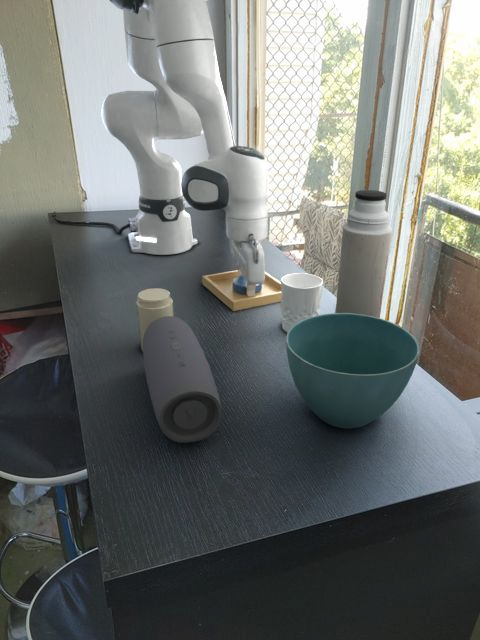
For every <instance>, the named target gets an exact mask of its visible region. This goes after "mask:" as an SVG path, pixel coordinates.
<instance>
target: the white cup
mask: <svg viewBox="0 0 480 640" xmlns="http://www.w3.org/2000/svg"><path fill="white" fill-rule="evenodd" d="M280 282H281V302H280V305H281V307H280V308H281V310H280V311H281V328H282V329H283V331H284V332H286V333H288V331H289V330H290V328H291V327H292V326H294V325H295V324H296V323H298V322H300V321H302V320H304V319H307V318H310V317H313V316H318V315H320V309H321V301H322V293H323V287H324V280H323V278H321V277H320V276H319V275H316V274H313V273H306V272H294V273H288V274H286V275H284V276H282V277H281V279H280Z"/></svg>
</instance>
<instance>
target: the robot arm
mask: <svg viewBox="0 0 480 640" xmlns="http://www.w3.org/2000/svg"><path fill="white" fill-rule="evenodd" d="M208 1H209V0H109V2H110V3H111V4H112V5H114V6H115V7H116V8H117V9H120V10H122V13H123V29H124V38H125V49H126V59H127V63H128V67H129V69H130V70H131V71H132V72H133V74H134V75H136V76H137V77H138V78H139V79H141V80H143V81H145V82H147V83H149V84H150V85H152V86H153V87H154V88H155V89H156V90H123V91H118V92H114V93H109V94H107V95H106V97H105V98H104V100H103V102H102V105H101V109H100V116H101V120H102V123H103V125H104V128H105V129H106V131H107V132H108V133H109V134H110V135H111V136H112V137H113V138H115V139H116V140H117V141H119V143H120V144H122V145H123V146H124V147H125V149H126V150H127V151H128V152H129V154H130V156H131V157H132V160H133V162H134V164H135V169H136V172H137V178H138V184H139V185H138V186H139V196H138V209H139V210H138V211H137V214H136V215H135V217H128V218H127V220H128V223H127V224H126V225H123V226H122V227H120V229H119V228H118V226H117V225H116V224H114V223H111V222H103V221H88V222H89V223H86V222H87V221H82V222H71V221H72V220H67V221H62V220H63V219H61V220H58V219H59V218H58V219H55V218H54V220H55V221H56V222H57V223H62V224H69V225H85V226H107V227H111V228H113V229H114V230H115V233H116V234H118V235H121V234H122V233H123V232H124V231H125V230H126V229H129V231H130V232H129V233H128V234H127V239H128V244H129V247H130V251H131V252H132V253H143V254H148V255H156V256H157V255H158V256H168V255H176V254H182V253H184V252H187V251H189V250H191V249H192V247H193V246H196V245H198V242H199V241H198V239H197V238H195V237H193V228H192V219H191V215H190V213H188V212H187V211H186V210H185V209H186V203H187V204H188V205H189V206H190V207H191V208H193V209H194V210H197V211H201V212H204V211H205V212H206V211H215V210H216V211H217V210H224V211H225V236H226V238H228V241H229V250H230V255H231V258H232V259H233V260H234V262H235V264H236V267H237V270H238V273H239V277H241V276H244V278H245V280H246V282H247V287H246V294H247V296H248V297H253V296H255V288H256V285H257V284H263V283H264V280H265V272H266V266H265V263H266V261H265V251H264V248H263V246H262V241H264V240H265V239H267V238H268V227H269V225H268V224H269V223H268V222H269V220H268V218H269V212H268V208H267V200H268V196H269V168H268V162H267V158H266V156H265V155H264V153H263V152H261V151H260V150H259V149H256V148H253V147H250V146H242V145H236V141H235V137H234V136H235V135H234V131H233V125H232V121H231V117H230V112H229V107H228V103H227V102H228V101H227V98H226V94H225V91H224V86H223V83H222V79H221V75H220V70H219V64H218V63H219V62H218V57H217V51H216V44H215V37H214V31H213V25H212V20H211V16H210V12H209V7H208V4H207V2H208ZM202 134H203V137H204V143H205V146H206V150H207V159H206V160H204V161H200V162H197V163H195V164H193V165H192V166H190V167H189V168H187V169H186V170H185V172H184V173H183V175H182V166H181V164H180V162H179V161H178V160H177V159H175V158H174V156H171V155H170V154H167V153H165V152H164V151H161V150H159V149H158V148H157V146H156V145H155V141H158V140H187V139H193V138H196V137H200V136H202ZM53 214H54V215H57V212H56V211H53V212H52V215H51V217H54V215H53Z"/></svg>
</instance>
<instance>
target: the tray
mask: <svg viewBox="0 0 480 640" xmlns="http://www.w3.org/2000/svg"><path fill="white" fill-rule="evenodd" d="M237 277H239V273H238V269H237V270H231V271H224V272H218V273H212V274H207V275H202V276H201V278H202V285H203V286H204V287H205V288H206V289H207V290H208V291H210V293H211V294H213V295H214V296H215V297H216V298H218V299H219V300H220V302H222V303H223V304H224V305H225V306H226V307H228V308H229V309H230V310H231V311H233V312H237V311H241V310H245V309H246V310H247V309H252V308H256V307H261V306H265V305H270V304H276V303H281V280H279V279H277V278H276V277H274V276H273V275H271V274H269V273H268V272H267V271H265V280H264V283H263V284H262V290H261V291H259V292H257V293H255V296H253V297H248V296H247V294H243V293H238V292H236V291H234V290H233V279H235V278H237Z"/></svg>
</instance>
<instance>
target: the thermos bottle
mask: <svg viewBox="0 0 480 640" xmlns="http://www.w3.org/2000/svg"><path fill="white" fill-rule="evenodd" d="M387 196H388V194H387V193H386V192H384V191H381V190H375V189H360V190H357V191H355V195H354V197H355V201H354V207H353V209H351V210H349V212H348V216H347V218H346V220H347V222H345V223H344V224H343V225H342V233H341V244H340V255H339V265H338V277H337V287H336V303H335V311H334V313H352V314H361V315H367V316H372V317H377V318H380V319H381V312H382V305H383V297H384V290H385V283H386V277H387V269H388V263H389V256H390V248H391V241H392V235H393V228H392V227H391V226H390V225H389V223H390V222H391V219H390V217H391V216H390V213H389V212H388V211H386V205H387V203H386V199H387Z"/></svg>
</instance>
